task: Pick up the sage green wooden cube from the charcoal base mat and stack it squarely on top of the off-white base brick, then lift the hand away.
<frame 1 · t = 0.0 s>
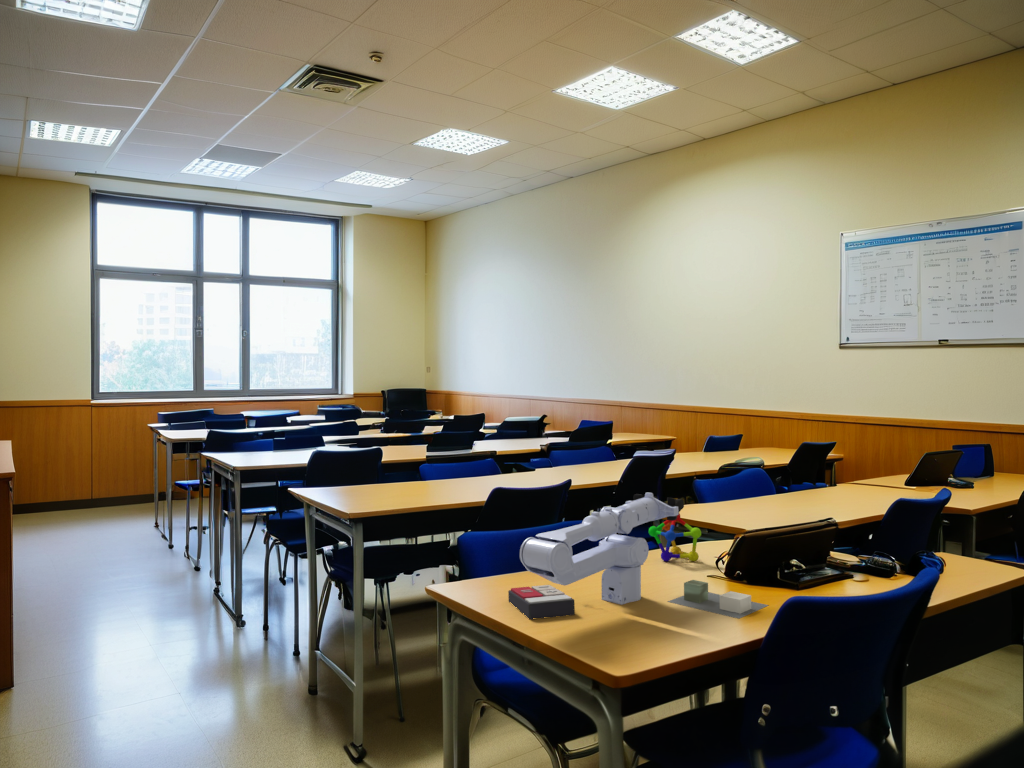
hand: (669, 501, 183), 22 cm above the table, tool horizontal, fingers open, 7 cm apart
green cube: (696, 599, 167), point 1 cm above the table, touching base mat
base brick: (735, 608, 160), resting on base mat
educational toy: (674, 561, 212), on the table
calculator: (540, 610, 165), on the table
base mat: (717, 607, 164), on the table
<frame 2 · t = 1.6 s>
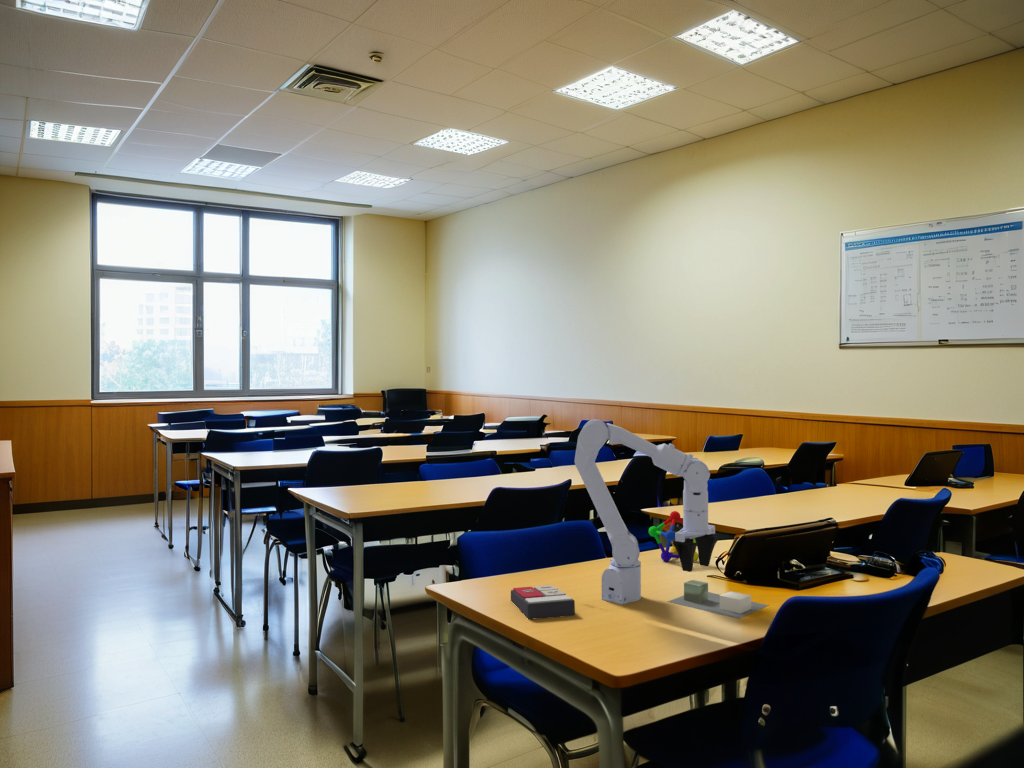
hand: (695, 568, 167), 8 cm above the table, tool pointing down, fingers open, 7 cm apart
nothing on the table moved.
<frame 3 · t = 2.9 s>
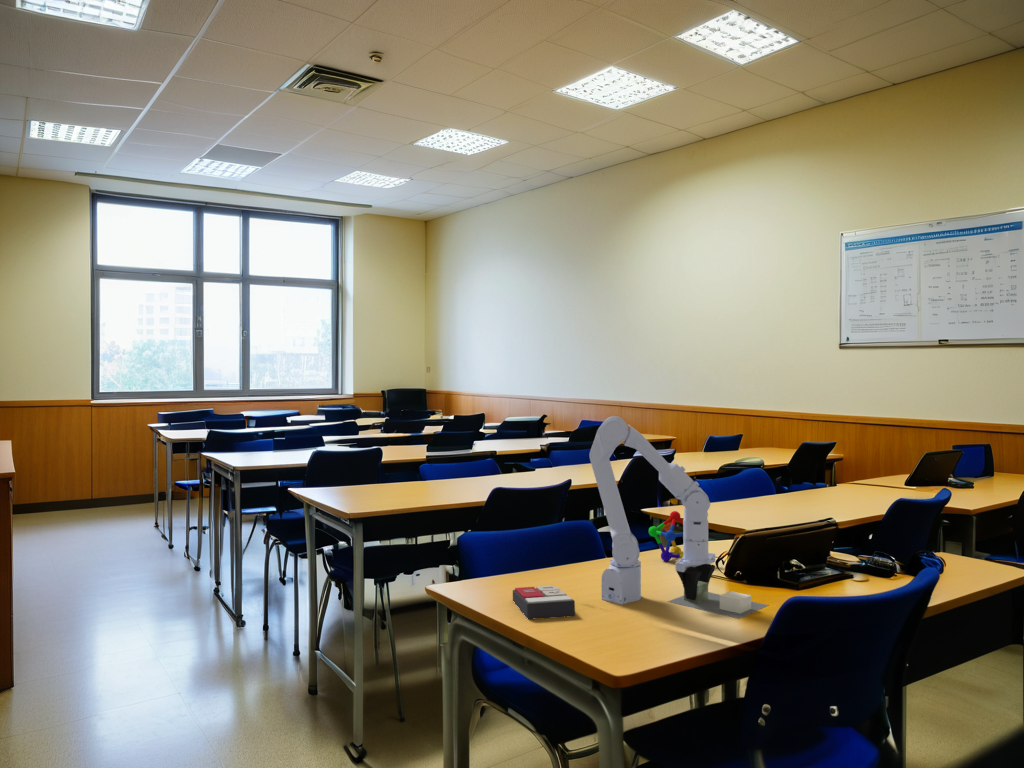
hand: (696, 597, 167), 2 cm above the table, tool pointing down, fingers closed on green cube, 4 cm apart
green cube: (696, 599, 167), point 1 cm above the table, touching base mat, gripper
everything else where it was.
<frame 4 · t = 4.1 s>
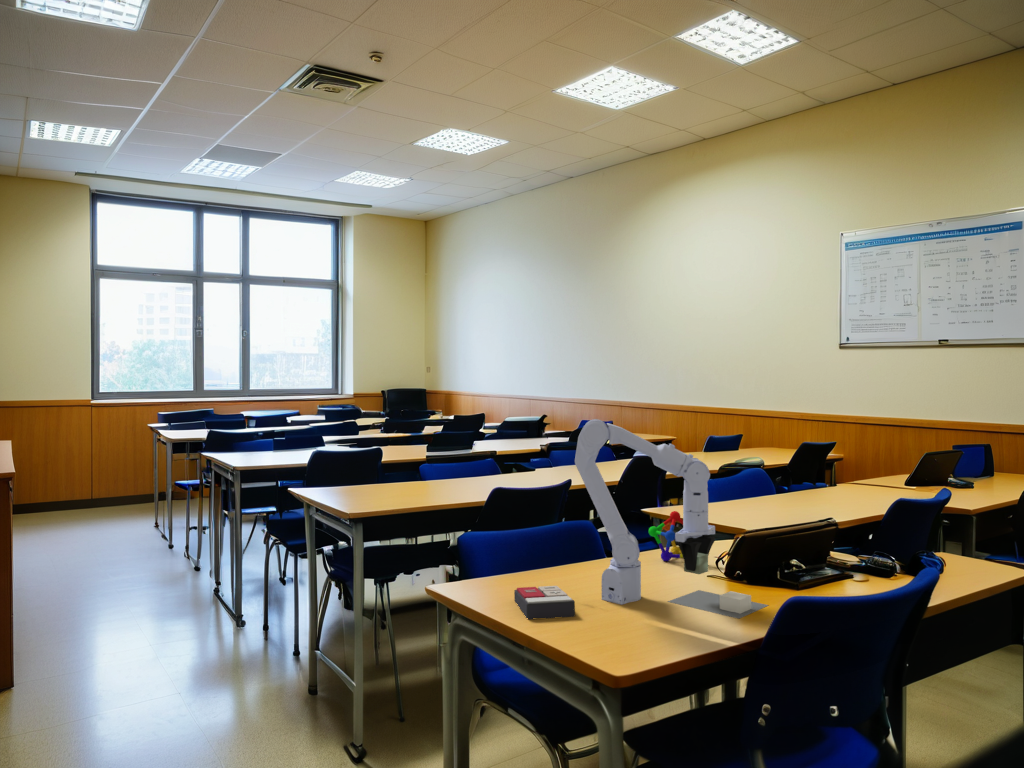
hand: (695, 568, 167), 8 cm above the table, tool pointing down, fingers closed on green cube, 4 cm apart
green cube: (696, 571, 167), point 8 cm above the table, touching gripper
everything else where it was.
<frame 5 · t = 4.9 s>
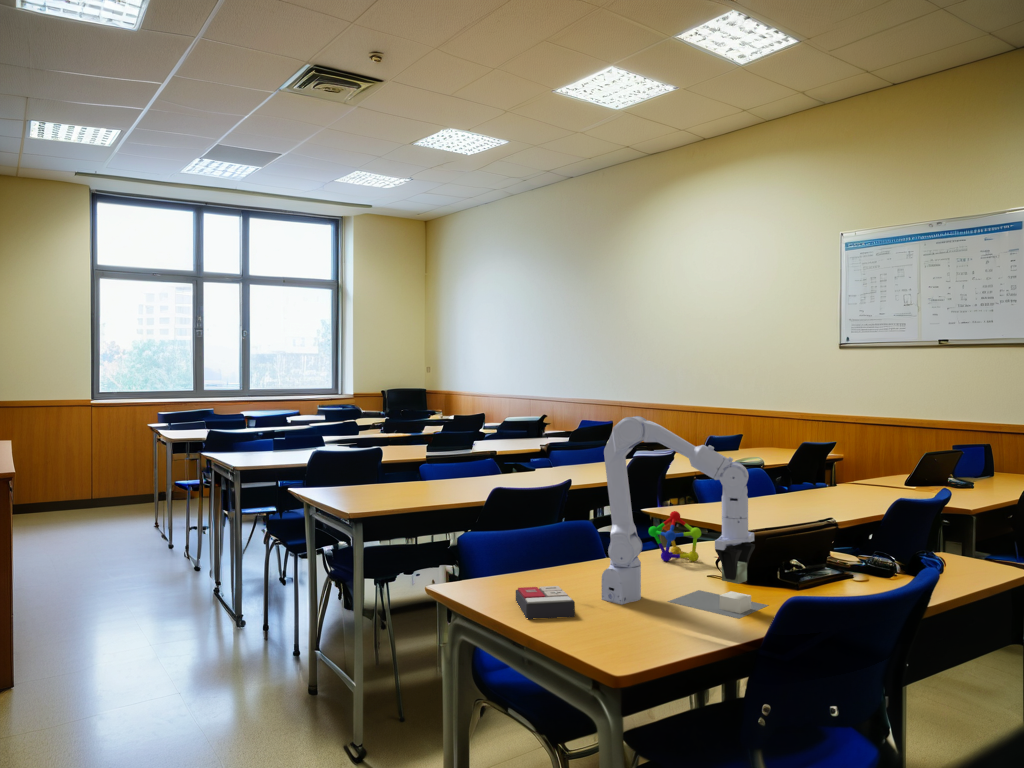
hand: (735, 577, 160), 8 cm above the table, tool pointing down, fingers closed on green cube, 4 cm apart
green cube: (734, 580, 160), point 7 cm above the table, touching gripper
when the fingers open (6 cm above the table, at t = 5.6 s): green cube drops 1 cm, resting on base brick.
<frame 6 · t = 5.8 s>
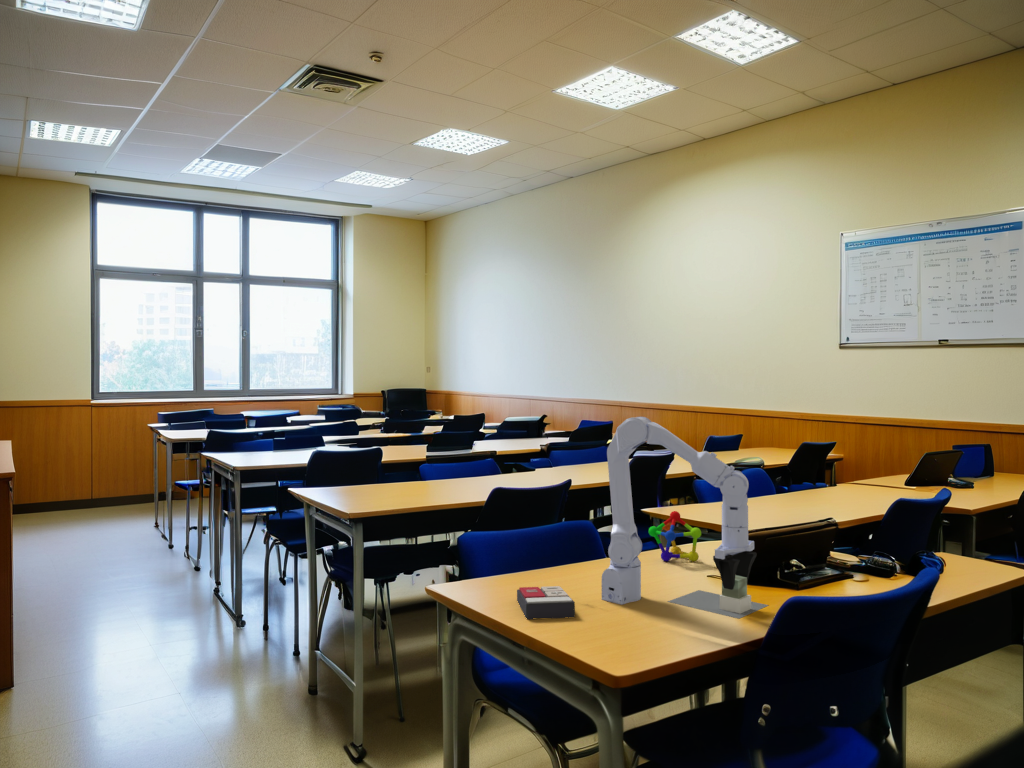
hand: (735, 586, 160), 6 cm above the table, tool pointing down, fingers open, 6 cm apart
green cube: (734, 595, 160), point 4 cm above the table, touching base brick
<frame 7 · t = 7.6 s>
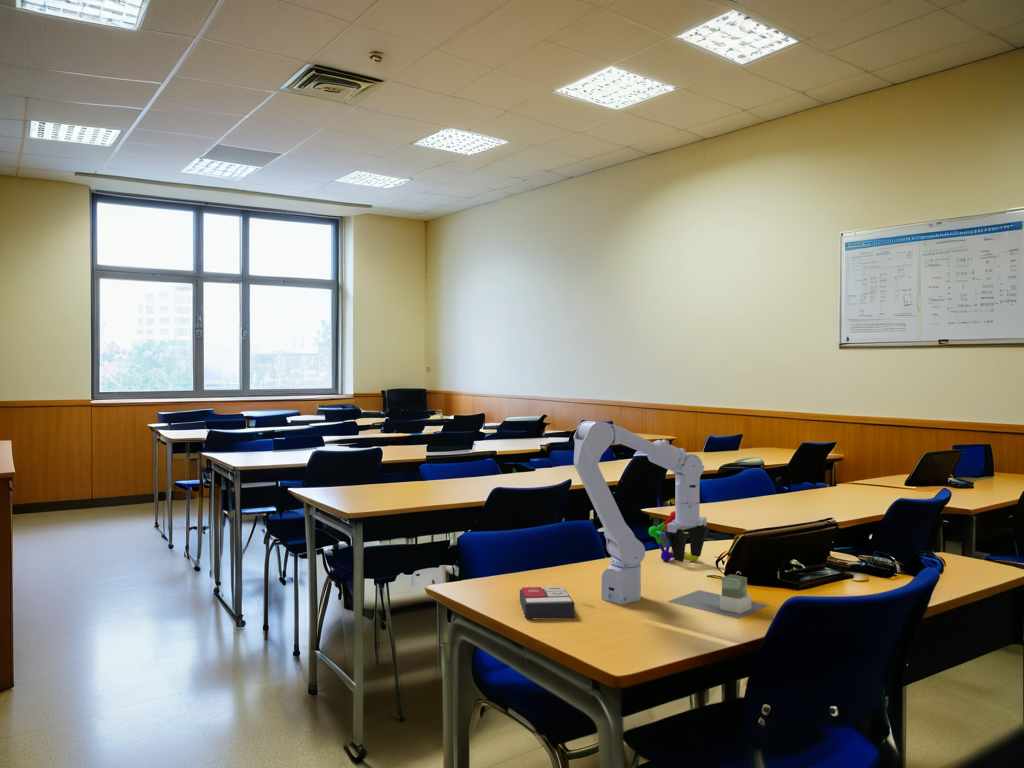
hand: (687, 558, 173), 9 cm above the table, tool pointing down, fingers open, 7 cm apart
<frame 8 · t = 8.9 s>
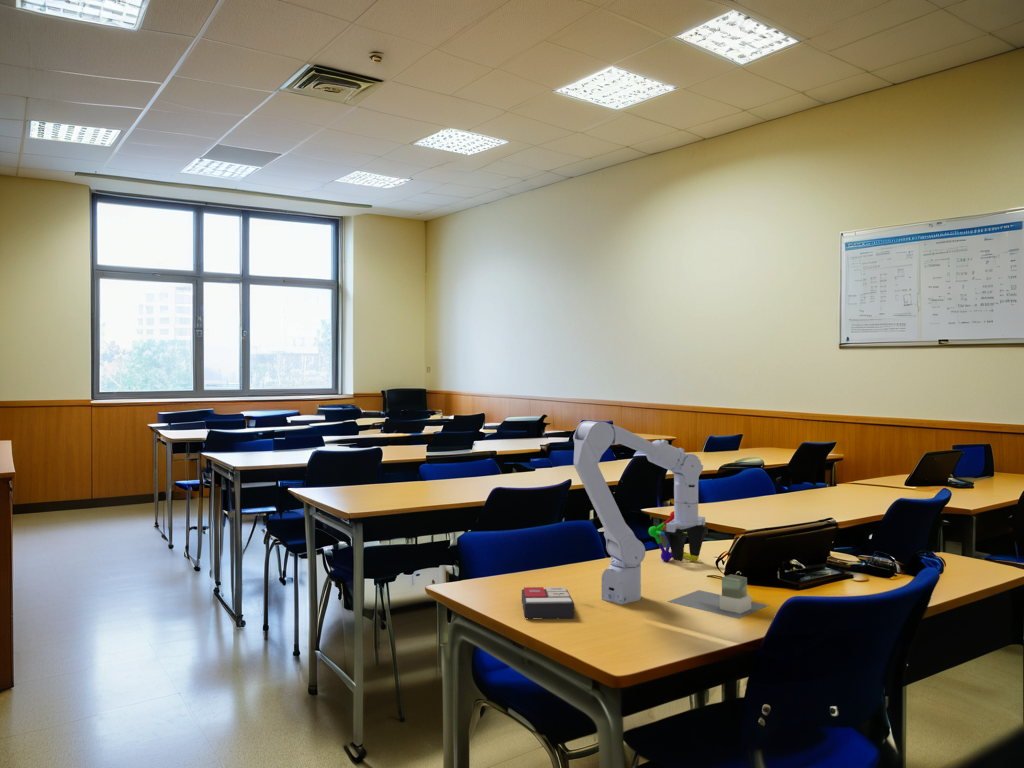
hand: (686, 557, 174), 9 cm above the table, tool pointing down, fingers open, 7 cm apart
at the end: green cube 0.2 cm off-centre on the base brick, point 3.0 cm above the base brick's base; green cube tilted 0°; the gripper is holding nothing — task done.
